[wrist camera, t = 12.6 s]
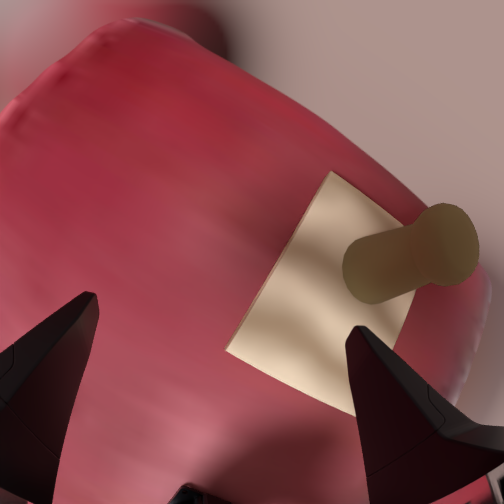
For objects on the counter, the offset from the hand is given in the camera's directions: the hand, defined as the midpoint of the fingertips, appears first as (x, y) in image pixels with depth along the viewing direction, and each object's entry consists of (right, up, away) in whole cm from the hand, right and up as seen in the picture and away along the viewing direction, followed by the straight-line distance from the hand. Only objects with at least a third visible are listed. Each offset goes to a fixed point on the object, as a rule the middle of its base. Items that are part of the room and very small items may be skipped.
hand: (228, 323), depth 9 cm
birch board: (+9, -1, +16) cm, 18 cm away
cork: (+11, +1, +15) cm, 19 cm away
